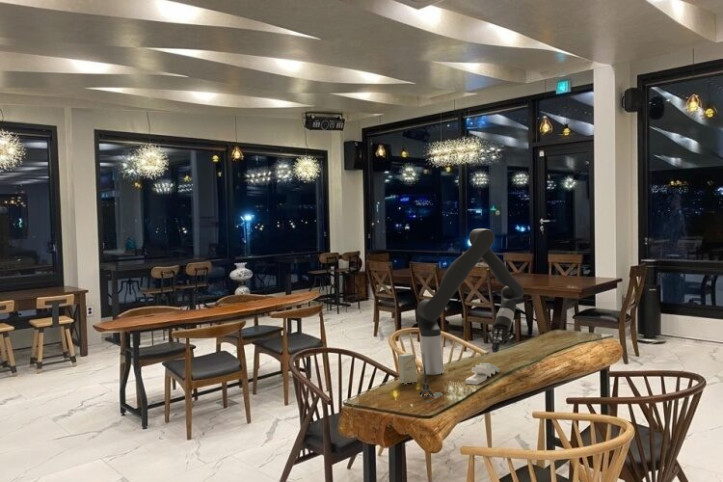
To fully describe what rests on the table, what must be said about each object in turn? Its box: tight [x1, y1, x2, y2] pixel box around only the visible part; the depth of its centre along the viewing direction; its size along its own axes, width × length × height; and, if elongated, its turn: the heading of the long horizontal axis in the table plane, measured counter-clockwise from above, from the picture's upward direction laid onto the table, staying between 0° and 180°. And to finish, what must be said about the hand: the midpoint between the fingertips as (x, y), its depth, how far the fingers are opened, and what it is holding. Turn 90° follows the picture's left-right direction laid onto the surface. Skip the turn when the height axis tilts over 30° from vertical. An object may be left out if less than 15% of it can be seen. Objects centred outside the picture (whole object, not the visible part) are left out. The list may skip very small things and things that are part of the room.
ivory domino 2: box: [465, 373, 488, 386], centre depth 236 cm, size 2×5×10 cm
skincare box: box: [397, 352, 418, 385], centre depth 242 cm, size 6×4×12 cm
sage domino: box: [478, 362, 500, 373], centre depth 247 cm, size 2×5×10 cm
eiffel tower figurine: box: [418, 365, 444, 403], centre depth 219 cm, size 15×10×13 cm
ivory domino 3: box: [474, 364, 496, 375], centre depth 243 cm, size 2×5×10 cm
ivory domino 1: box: [471, 366, 492, 378], centre depth 239 cm, size 2×5×10 cm
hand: (494, 351), depth 252 cm, fingers closed
